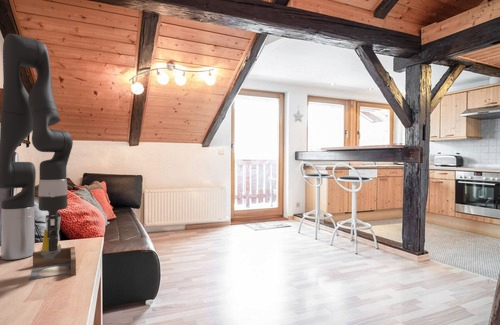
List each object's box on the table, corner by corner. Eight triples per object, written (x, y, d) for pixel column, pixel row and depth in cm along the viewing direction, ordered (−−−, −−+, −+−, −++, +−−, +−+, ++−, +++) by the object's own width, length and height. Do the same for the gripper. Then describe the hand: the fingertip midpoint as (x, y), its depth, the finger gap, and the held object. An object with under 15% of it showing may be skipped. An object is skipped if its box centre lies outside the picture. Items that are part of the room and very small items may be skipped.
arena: (33, 267, 98) (33, 251, 98) (74, 261, 104) (74, 246, 104) (28, 283, 85) (28, 266, 85) (75, 275, 91) (75, 259, 91)
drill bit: (66, 256, 94) (57, 226, 92) (47, 264, 90) (37, 233, 88) (60, 254, 97) (51, 224, 96) (41, 262, 93) (32, 231, 92)
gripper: (40, 192, 97) (40, 244, 98) (36, 197, 85) (36, 256, 85) (67, 191, 101) (67, 241, 101) (67, 195, 89) (67, 252, 89)
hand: (53, 248), depth 93 cm, fingers closed on drill bit, 5 cm apart
